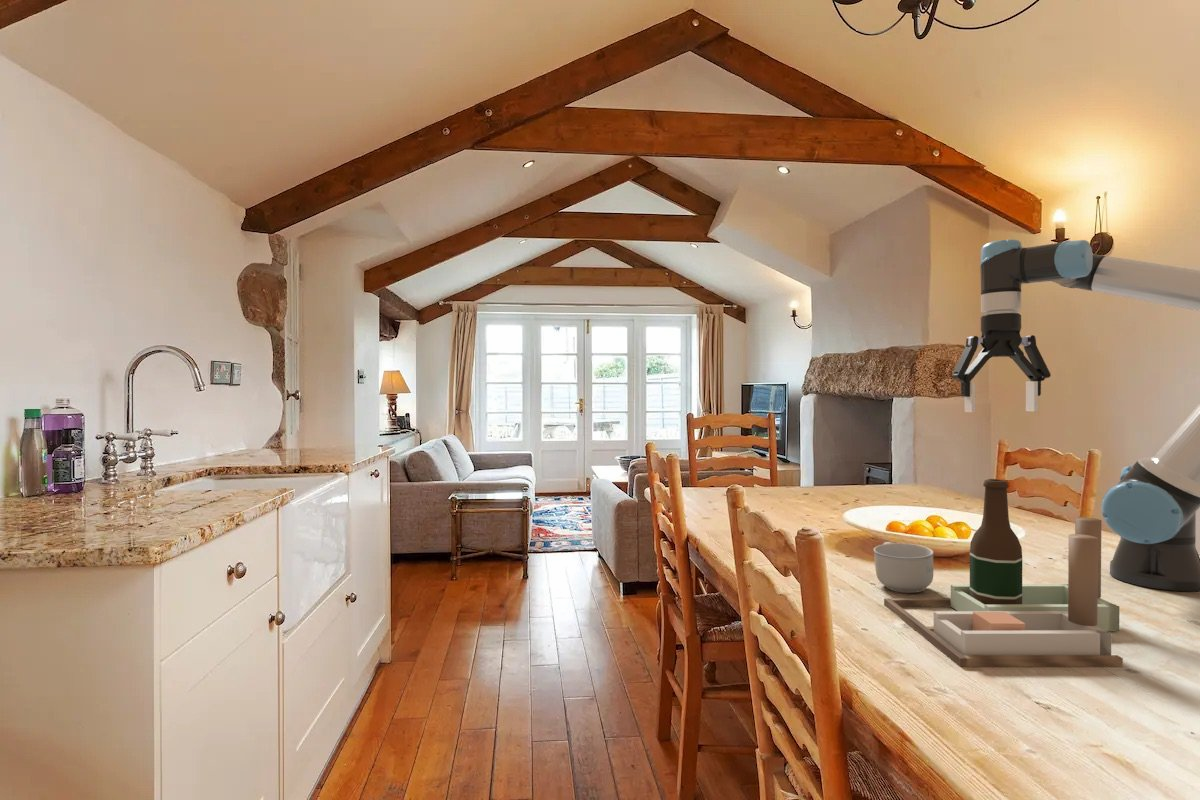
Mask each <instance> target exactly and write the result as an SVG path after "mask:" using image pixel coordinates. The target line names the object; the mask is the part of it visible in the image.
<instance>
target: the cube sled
mask: <svg viewBox="0 0 1200 800" xmlns="http://www.w3.org/2000/svg"><path fill="white" fill-rule="evenodd" d="M1067 561H1068V565H1067V566H1068V567H1067V568H1068V569H1067V570H1068V575H1067V576H1068V581H1067V582H1068V583H1067V584H1068V612H1067V611H957V610H955V611H954V610H952V611H949V610H947V611H943V610H942V611H940V610H939V611H938V610H937V611H935V610H934V611H933V626H934V633H935V634H936V635H938V636H939V637H940V638H942V639H943V640H944V641H945V642H947V643H948V644H949V645H951V646H952V647H953V648H954V649H956V650H957V651H958V652H960V653H961V654H962V655H1112V633H1111V631H1106V630H1104V629H1102V628H1099V627H1097V626H1096V625H1097V612H1098V538H1097V537H1094V536H1089V535H1081V534H1075V533H1072V534H1068V560H1067ZM973 612H1006V613H1008V614H1010V615H1011V616H1013V617H1015V618H1017V619H1018V620H1020V621H1022V622H1023V623H1025V630H1022V631H973Z"/></svg>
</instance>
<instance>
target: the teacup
mask: <svg viewBox="0 0 1200 800" xmlns="http://www.w3.org/2000/svg"><path fill="white" fill-rule="evenodd" d="M934 553H935V552H934V550H933V549H932V548H930V547H927V546H924V545H920V544H914V543H906V542H905V543H902V542H901V543H900V542H898V543H896V542H891V541H885V542H884V543H882V544H879V545H877V546H875V547H873V554H874V565H875V567H874V568H875V574H876V578H877V579H878V580H879V582H880V583H881V584H882V585H884V586H885V587H886V588H887V589H888V590H891V591H893V592H896V593H904V594H915V593H920V592H922V591H924V590H925V589H926V588H928V587H929V586H930V585H931V584H932V582H933V579H934Z"/></svg>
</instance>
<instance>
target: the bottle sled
mask: <svg viewBox="0 0 1200 800" xmlns="http://www.w3.org/2000/svg"><path fill="white" fill-rule="evenodd" d="M1074 522H1075V523H1074V534H1081V535H1089V536H1094V537H1097V538H1098V612H1097V625H1096V626H1097V627H1099V628H1102V629H1104V630H1106V631H1108V632H1120V606H1119V605H1117V604H1114V603H1112V602H1110V601H1108V600H1106V599H1103V598H1101V597H1102V519H1098V518H1095V517H1086V516H1085V517H1082V516H1081V517H1080V516H1079V517H1078V516H1077V517H1075V518H1074ZM950 598H951V608H953V609H954V610H955V611H1067V612H1068V583H1048V584H1047V583H1038V584H1037V583H1035V584H1034V583H1031V584H1030V583H1029V584H1027V583H1025V584H1024V583H1022V604H992V605H985V604H983V603H981V602H980V601H978V600H976V599H975V598H973V597H971V596H970V583H968V584H966V583H965V584H961V583H960V584H950Z"/></svg>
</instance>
